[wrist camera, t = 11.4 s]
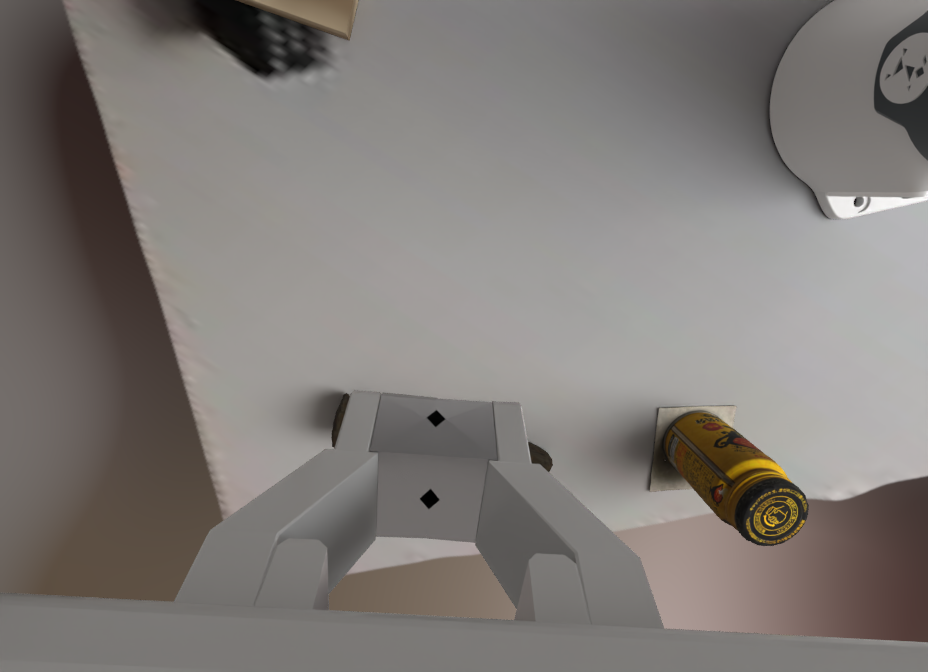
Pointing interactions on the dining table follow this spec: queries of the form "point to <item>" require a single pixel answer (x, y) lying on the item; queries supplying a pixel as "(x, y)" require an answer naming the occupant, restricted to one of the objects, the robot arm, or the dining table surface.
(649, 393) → the dining table surface
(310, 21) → the press base
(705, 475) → the condiment
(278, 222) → the dining table surface
